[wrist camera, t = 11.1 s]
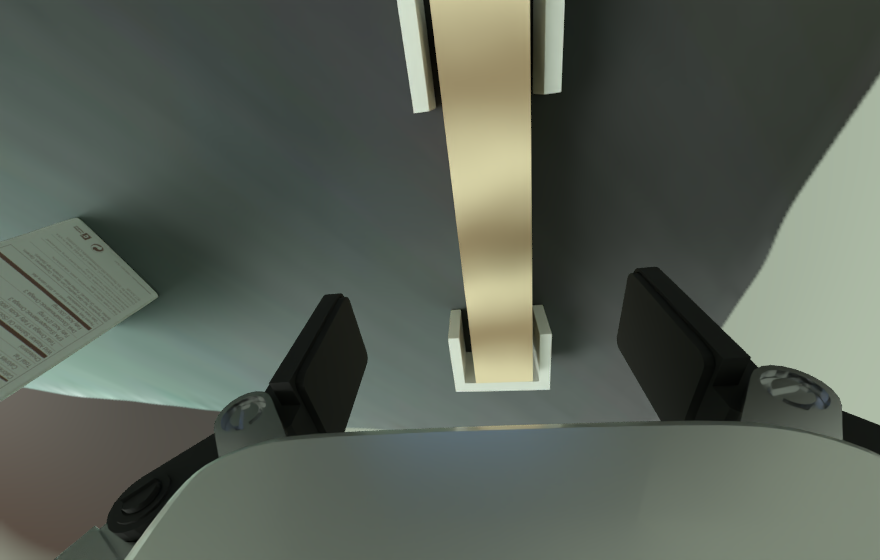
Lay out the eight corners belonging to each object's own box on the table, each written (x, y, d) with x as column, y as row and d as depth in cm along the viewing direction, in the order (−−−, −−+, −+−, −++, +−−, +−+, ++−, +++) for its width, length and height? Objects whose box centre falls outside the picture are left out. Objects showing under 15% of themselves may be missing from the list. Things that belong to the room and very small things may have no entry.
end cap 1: (406, -11, 15) (392, -33, 13) (549, -39, 15) (567, -70, 12) (423, 109, 18) (414, 113, 15) (546, 91, 17) (561, 92, 14)
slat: (439, 12, 16) (428, -13, 12) (515, -3, 16) (529, -34, 12) (475, 338, 26) (476, 383, 22) (523, 336, 25) (532, 381, 21)
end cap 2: (451, 310, 24) (448, 338, 21) (542, 304, 23) (551, 333, 20) (457, 360, 26) (456, 391, 24) (541, 357, 25) (549, 389, 23)
